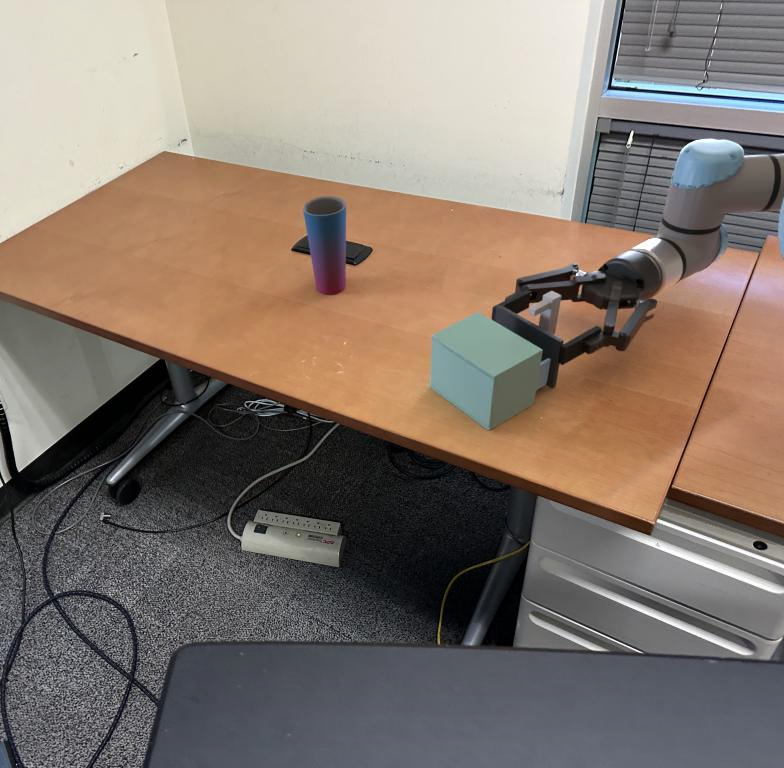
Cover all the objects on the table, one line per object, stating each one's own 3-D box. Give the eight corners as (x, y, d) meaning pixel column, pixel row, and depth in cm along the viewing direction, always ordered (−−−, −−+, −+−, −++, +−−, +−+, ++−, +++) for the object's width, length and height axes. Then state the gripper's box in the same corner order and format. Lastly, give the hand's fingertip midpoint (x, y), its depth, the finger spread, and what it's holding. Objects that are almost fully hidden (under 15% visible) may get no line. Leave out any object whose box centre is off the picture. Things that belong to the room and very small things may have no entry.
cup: (354, 277, 119) (350, 196, 109) (346, 298, 114) (340, 216, 104) (316, 275, 121) (309, 195, 111) (306, 296, 116) (297, 215, 106)
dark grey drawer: (516, 337, 99) (524, 276, 93) (578, 374, 92) (591, 310, 85) (453, 371, 95) (456, 310, 89) (512, 412, 88) (520, 349, 81)
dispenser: (473, 364, 97) (477, 311, 91) (534, 404, 89) (543, 349, 84) (430, 387, 94) (431, 334, 89) (488, 431, 87) (494, 376, 81)
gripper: (709, 332, 92) (595, 401, 84) (567, 266, 108) (462, 320, 101) (725, 284, 87) (607, 353, 80) (574, 223, 103) (464, 276, 96)
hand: (526, 335), depth 90 cm, fingers closed on dark grey drawer, 11 cm apart
